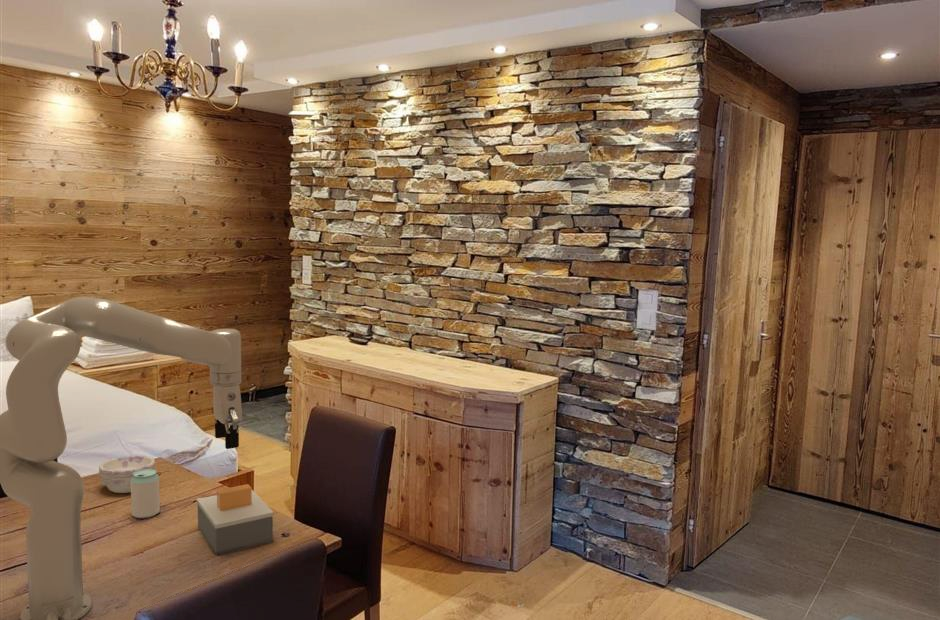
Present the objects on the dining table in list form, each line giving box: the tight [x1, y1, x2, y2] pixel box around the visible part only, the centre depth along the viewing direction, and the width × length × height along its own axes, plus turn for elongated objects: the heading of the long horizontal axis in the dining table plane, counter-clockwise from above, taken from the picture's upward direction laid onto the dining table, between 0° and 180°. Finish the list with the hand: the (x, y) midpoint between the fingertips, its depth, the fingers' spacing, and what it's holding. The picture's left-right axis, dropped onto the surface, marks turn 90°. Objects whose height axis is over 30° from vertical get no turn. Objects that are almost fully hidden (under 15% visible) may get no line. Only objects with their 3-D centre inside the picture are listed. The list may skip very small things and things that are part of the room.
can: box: [130, 469, 161, 520], centre depth 187 cm, size 7×7×12 cm
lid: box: [196, 483, 275, 529], centre depth 176 cm, size 18×14×6 cm
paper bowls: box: [98, 455, 156, 494], centre depth 205 cm, size 15×15×8 cm
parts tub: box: [197, 504, 274, 556], centre depth 177 cm, size 18×14×7 cm
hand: (226, 442), depth 174 cm, fingers open, 9 cm apart
